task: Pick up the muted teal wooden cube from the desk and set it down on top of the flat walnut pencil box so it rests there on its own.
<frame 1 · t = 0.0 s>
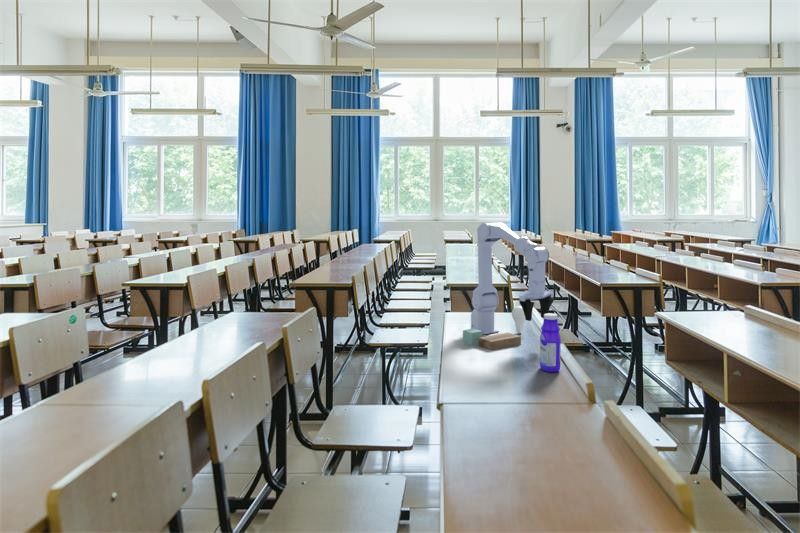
hand: (536, 319, 197), 10 cm above the table, tool pointing down, fingers open, 7 cm apart
pencil box: (499, 345, 201), on the table
bottle: (549, 370, 171), on the table
teal cube: (472, 344, 203), on the table
lightbulb: (519, 334, 218), on the table
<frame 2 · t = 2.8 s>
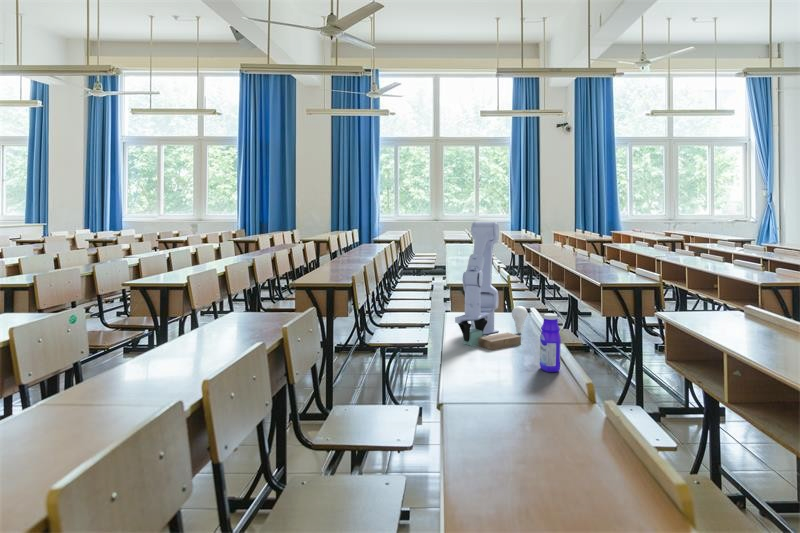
hand: (472, 339, 203), 1 cm above the table, tool pointing down, fingers closed on teal cube, 5 cm apart
teal cube: (472, 343, 203), on the table, touching gripper
everything else where it was.
when the fingers open (6 cm above the table, at t = 6.0 s): teal cube stays where it is, resting on pencil box.
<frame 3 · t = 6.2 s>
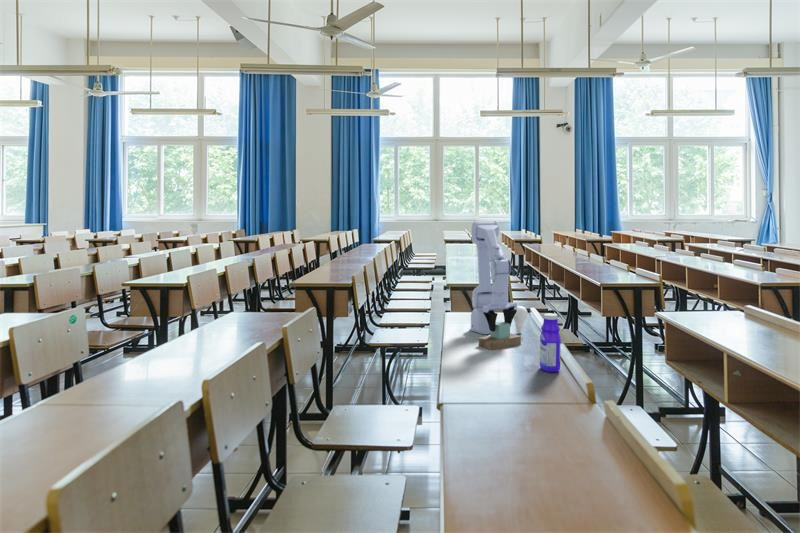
hand: (499, 329, 200), 6 cm above the table, tool pointing down, fingers open, 7 cm apart
teal cube: (500, 336, 201), point 3 cm above the table, touching pencil box
everything else where it was.
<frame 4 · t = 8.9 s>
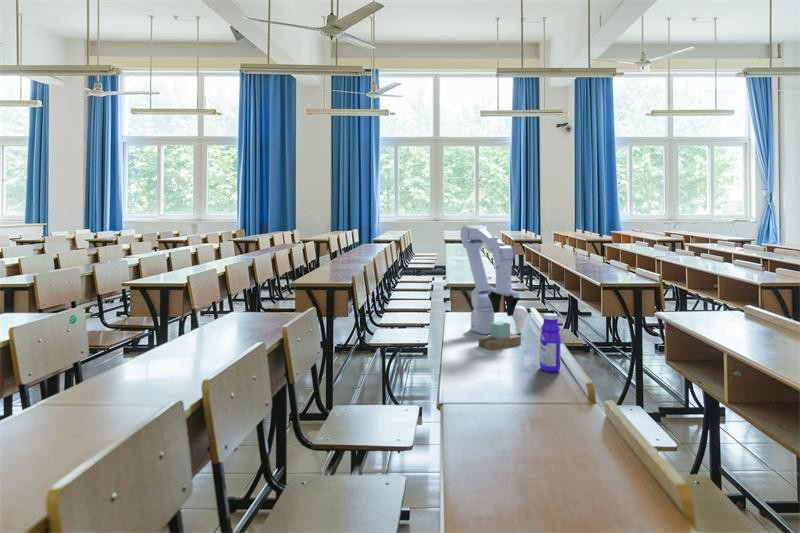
hand: (503, 314, 207), 10 cm above the table, tool pointing down, fingers open, 7 cm apart
nothing on the table moved.
at the end: teal cube inside the target area on the pencil box (0.1 cm from its centre), point 3.0 cm above the pencil box's base; teal cube tilted 0°; the gripper is holding nothing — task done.
